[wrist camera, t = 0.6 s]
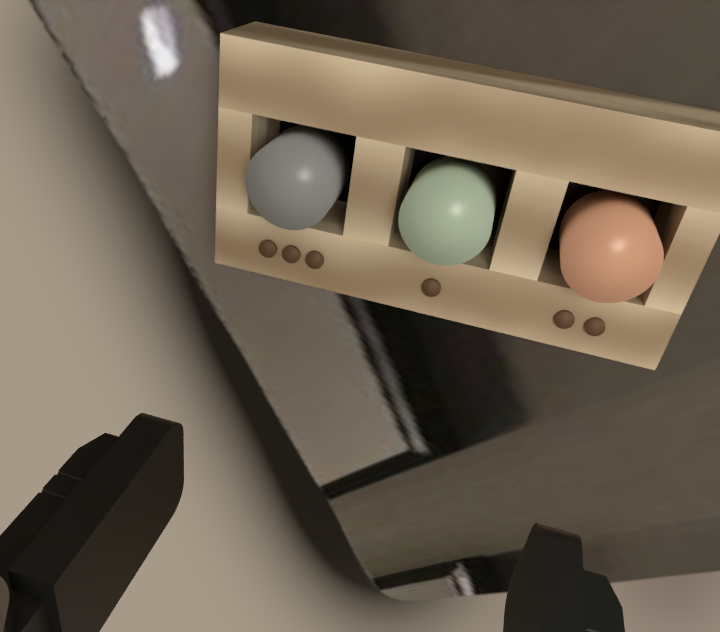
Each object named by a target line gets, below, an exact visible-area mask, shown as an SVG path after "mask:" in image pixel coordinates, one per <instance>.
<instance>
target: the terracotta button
mask: <svg viewBox="0 0 720 632" xmlns="http://www.w3.org/2000/svg"><path fill="white" fill-rule="evenodd" d="M559 243H560V266H561V271H562V274H563V277H564V279H565V281H566V283H567V284H568V285H569V287H570V288H571V289H572V290H573V291H574V292H576V293H577V294H578V295H580V296H582V297H583V298H586V299H588V300H591V301H594V302H599V303H618V302H623V301H627V300H629V299H632V298H634V297H636V296H638V295H640V294H642V293H643V292H644V291H646V290H647V289H648V288H649V287H650V286H651V285H652V284H653V283H654V282H655V280H656V279H657V278H658V276H659V274H660V272H661V269H662V266H663V261H664V252H663V246H662V243H661V240H660V237H659V235H658V232H657V229H656V226H655V224H654V221H653V218H652V216H651V213H650V211H649V209H648V208H647V206H646V205H645V204H644V203H643V202H642V201H641V200H640V199H638V198H637V197H635V196H634V195H631V194H626V193H621V192H617V191H612V190H600V191H596V192H593V193H590V194H587V195H585V196H583V197H582V198H580V199H578V200H577V201H576V202H575V203H573V205H572V206H571V207H570V208H569V209H568V210H567V212H566V213H565V215H564V216H563V219H562V221H561V224H560V229H559Z"/></svg>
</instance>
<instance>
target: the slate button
mask: <svg viewBox="0 0 720 632" xmlns="http://www.w3.org/2000/svg"><path fill="white" fill-rule="evenodd" d="M348 179H349V162H348V158H347V155H346V152H345V150H344V148H343V147H342V145H341V144H340V142H339V141H338V140H337V139H336V138H335V137H334V136H333V135H332V134H330V133H329V132H327V131H326V130H324V129H320V128H315V127H310V126H306V125H296V126H293V127H290V128H288V129H286V130H285V131H283V132H282V133H281V134H279V135H278V136H277V137H276V138H274V139H273V140H272V141H271V142H269V143H268V144H267V145H265V146H264V147H263V148H262V149H260V150H259V151H258V152H257V153H256V154H255V155H254V156H253V158H252V159H251V161H250V163H249V165H248V167H247V171H246V190H247V193H248V196H249V199H250V201H251V203H252V205H253V206H254V208H255V209H256V211H257V212H258V213H259V214H260V215H261V216H262V217H263V218H264V219H265V220H267V221H268V222H269V223H271V224H273V225H275V226H277V227H279V228H283V229H287V230H303V229H307V228H309V227H312V226H314V225H315V224H317V223H318V222H320V221H321V220H322V219H323V218H324V216H325V215H326V214H327V212H328V211H329V210H330V208H331V207H332V206H333V204H334V203H335V202H336V200H337V199H338V198H339V196H340V195H341V194H342V192H343V191H344V189H345V187H346V185H347V183H348Z"/></svg>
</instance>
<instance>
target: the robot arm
mask: <svg viewBox="0 0 720 632" xmlns="http://www.w3.org/2000/svg"><path fill="white" fill-rule="evenodd" d="M183 445H184V444H183V427H182V425H181V424H180V423H177V422H173V421H170V420H166V419H162V418H159V417H155V416H152V415H148V414H144V413H141V414H139V415H137V416H136V417H135V418H134V419H133V420H132V422H131V423H130V424H129V425H128V427H127V428H126V429H125V430H124V431H123V432H122V434H121V435H120V436H119V437H117V436H114V435H111V434H107V433H104V434H102V435H101V436H99V437H97V438H96V439H94V440H92V441H90V442H89V443H87V444H85V445H84V446H82V447H80V448H78V449H77V450H76V452H75V453H74V454H73V455H72V456H71V457H70V458H69V459H68V461H67V462H66V463H65V464H64V465H63V466H62V467H61V469H59V472H58V474H57V475H54V476H53V477H52V478H51V480H50V481H49V482H48V483H47V484H46V485H45V486H44V487H43V490H42V492H41V493H38V494H37V495H36V496H35V497H34V499H33V500H32V501H31V502H30V503H29V504H28V505H27V507H25V509H24V510H23V511H22V512H21V513H20V514H19V515H18V516H17V518H16V519H15V520H14V521H13V522H12V523H11V524H10V525H9V526H8V528H7V529H6V530H5V531H4V532H3V533H2V534H1V536H0V632H99V631H100V630H101V628H102V627H103V625H104V623H105V622H106V620H107V619H108V617H109V616H110V614H111V612H112V611H113V609H114V608H115V606H116V604H117V603H118V601H119V600H120V598H121V597H122V595H123V593H124V592H125V590H126V589H127V587H128V585H129V584H130V582H131V580H132V579H133V578H134V576H135V574H136V573H137V571H138V570H139V568H140V566H141V565H142V563H143V562H144V560H145V559H146V557H147V555H148V554H149V552H150V551H151V549H152V548H153V546H154V544H155V543H156V541H157V540H158V538H159V536H160V535H161V533H162V532H163V530H164V529H165V527H166V525H167V524H168V522H169V521H170V519H171V518H172V516H173V514H174V512H175V510H176V508H177V506H178V503H179V501H180V498H181V494H182V490H183V484H184V455H183V454H184V451H183V450H184V449H183V448H184V446H183ZM503 632H625V629H624V620H623V611H622V606H621V604H620V602H619V600H618V598H617V596H616V594H615V593H614V591H613V589H612V587H611V585H610V583H609V581H608V579H607V577H606V576H603V575H600V574H596V573H593V572H589V571H586V570H583V557H582V542H581V538H580V536H579V535H577V534H573V533H570V532H566V531H562V530H559V529H555V528H551V527H548V526H544V525H541V524H537V523H535V524H534V525H533V527H532V529H531V531H530V534H529V536H528V539H527V541H526V544H525V546H524V549H523V551H522V554H521V556H520V559H519V561H518V563H517V566H516V568H515V571H514V573H513V576H512V579H511V582H510V585H509V589H508V593H507V599H506V604H505V612H504V628H503Z"/></svg>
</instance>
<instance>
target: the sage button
mask: <svg viewBox="0 0 720 632" xmlns="http://www.w3.org/2000/svg"><path fill="white" fill-rule="evenodd" d="M496 203H497V194H496V188H495V185H494V182H493V180H492V178H491V177H490V175H489V174H488V172H487V171H486V170H485V169H484V168H483V167H482V166H480V165H479V164H478V163H476V162H474V161H471V160H466V159H461V158H457V157H452V156H447V157H442V158H438V159H436V160H433V161H432V162H430V163H428V164H427V165H426V166H424V167H423V168H422V169H421V170H420V171H419V173H418V174H417V175H416V177H415V179H414V181H413V183H412V185H411V187H410V188H409V190H408V192H407V194H406V196H405V198H404V200H403V202H402V205H401V207H400V211H399V217H398V224H399V230H400V233H401V236H402V238H403V240H404V242H405V244H406V245H407V247H408V248H409V249H410V250H411V251H412V252H413V253H414V254H415V255H417V256H418V257H419V258H421V259H423V260H425V261H427V262H429V263H433V264H436V265H444V266H450V265H457V264H461V263H464V262H466V261H469V260H471V259H472V258H474V257H475V256H476V255H478V254H479V253H480V252H481V251H482V250H483V248H484V247H485V246H486V244H487V242H488V240H489V238H490V235H491V231H492V226H493V220H494V214H495V209H496Z"/></svg>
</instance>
